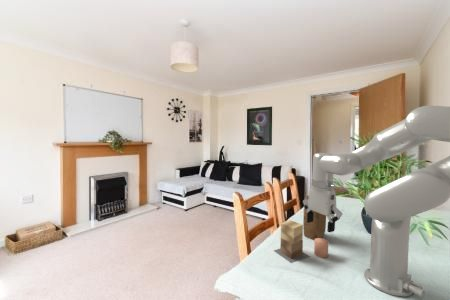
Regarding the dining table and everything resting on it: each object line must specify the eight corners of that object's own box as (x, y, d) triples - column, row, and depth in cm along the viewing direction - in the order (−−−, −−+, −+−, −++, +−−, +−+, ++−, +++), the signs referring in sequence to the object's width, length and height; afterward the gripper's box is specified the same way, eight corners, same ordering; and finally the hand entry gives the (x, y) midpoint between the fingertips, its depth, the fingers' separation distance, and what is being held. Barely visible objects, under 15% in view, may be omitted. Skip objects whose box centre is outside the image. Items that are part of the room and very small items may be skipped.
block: (316, 242, 96) (317, 198, 95) (301, 236, 101) (302, 195, 101) (327, 236, 102) (328, 194, 102) (313, 230, 108) (314, 191, 107)
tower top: (302, 239, 85) (302, 224, 85) (293, 243, 81) (293, 228, 81) (289, 234, 90) (290, 220, 89) (280, 238, 86) (280, 223, 86)
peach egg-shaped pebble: (330, 257, 84) (331, 242, 84) (322, 260, 82) (322, 245, 81) (319, 251, 88) (320, 237, 88) (311, 254, 86) (311, 239, 86)
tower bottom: (302, 255, 84) (302, 240, 84) (291, 258, 82) (291, 243, 81) (291, 248, 90) (291, 234, 89) (280, 251, 87) (280, 237, 87)
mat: (310, 257, 84) (310, 256, 83) (291, 264, 79) (291, 262, 79) (291, 246, 92) (291, 245, 92) (273, 251, 88) (273, 250, 88)
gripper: (349, 188, 78) (346, 233, 79) (310, 179, 93) (309, 217, 94) (336, 190, 74) (333, 237, 76) (298, 180, 90) (296, 220, 91)
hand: (319, 226), depth 85 cm, fingers open, 9 cm apart
